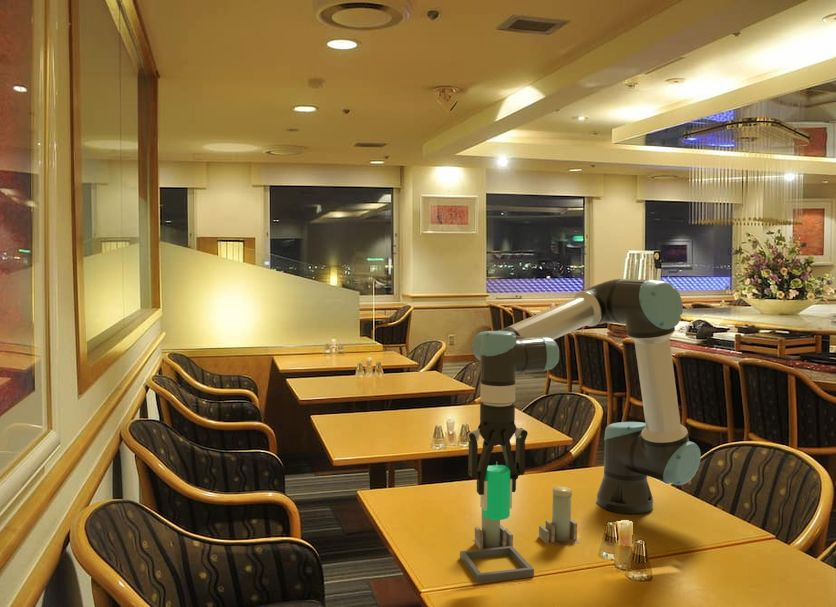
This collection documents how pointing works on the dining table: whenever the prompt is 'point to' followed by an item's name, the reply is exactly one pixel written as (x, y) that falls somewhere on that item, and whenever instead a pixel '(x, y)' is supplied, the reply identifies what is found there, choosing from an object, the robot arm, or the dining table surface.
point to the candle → (497, 492)
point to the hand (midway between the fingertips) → (496, 507)
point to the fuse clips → (544, 534)
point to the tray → (496, 575)
